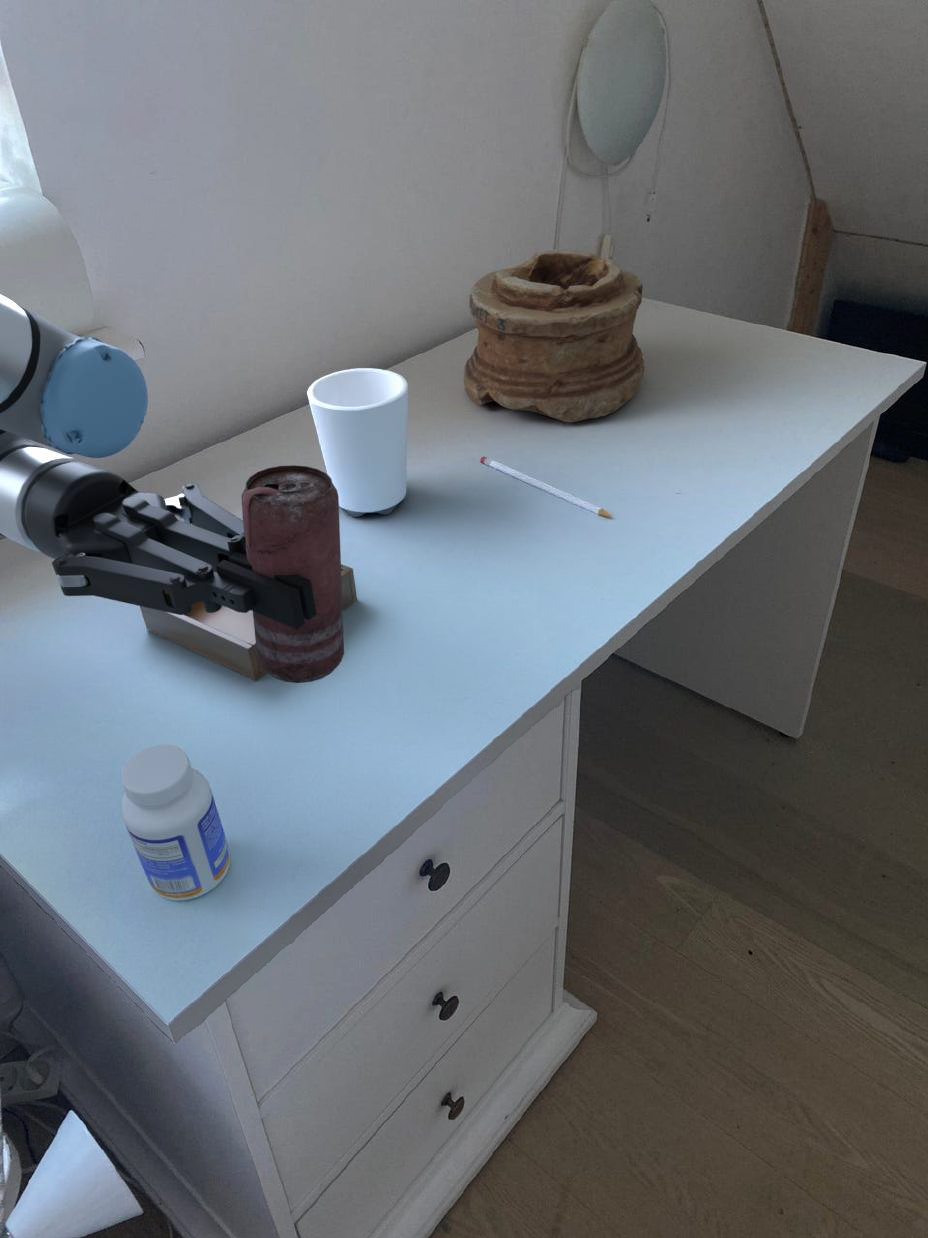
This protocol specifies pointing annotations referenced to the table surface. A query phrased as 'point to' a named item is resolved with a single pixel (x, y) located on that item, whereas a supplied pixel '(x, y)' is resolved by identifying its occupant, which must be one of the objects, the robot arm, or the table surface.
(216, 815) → the pill bottle
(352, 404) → the cup
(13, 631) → the table surface
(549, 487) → the pencil
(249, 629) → the tray
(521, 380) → the container
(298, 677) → the can
